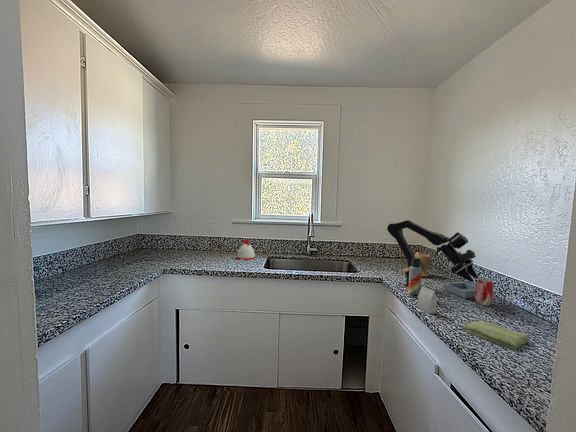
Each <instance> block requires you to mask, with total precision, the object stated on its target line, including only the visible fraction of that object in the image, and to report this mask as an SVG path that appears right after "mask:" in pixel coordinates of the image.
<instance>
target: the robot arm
mask: <svg viewBox="0 0 576 432" xmlns="http://www.w3.org/2000/svg"><path fill="white" fill-rule="evenodd" d="M386 229H387V232H388V233H389V235H390V236H392V237H393V238H394V239H395V240H396V242H397V244H398V246H399V248H400V250H401V251H402V253H403V255H404V257H405V259H406V261H407V268H409V270H408V271H407V272H406V271H405V272H404V274H405V277H406V278H405V279H406V281H405V283H406V284H404V287H407V288H409V271H410V266H412V258H415V254H414V253H413V250H412V249H411V247H410V245H409V244H408V242H407V240H406V238H405V236H404V229H408V230H411V231H413V232H415V233H417V234H418V235H419V236H421V237H424V238H425V239H426V240H427V241H428V242H430V243H431V244H432V245H434V246H437V247H436V253H440V252H441V253H442V254H443V255H444V256H445V257H446V258H447V262H451V264H452V265H453V266H452V267H451V268H450V271H451V273H452V274H455V275H456V276H459V277H461V278H462V279H465V280H466V281H469V282H471V283H473V282H474V279H473V278H475V279H478V278H479V276H478V275H477V273H476V271H475V269H474V263H475V262H474V260H473V259H474V258H476V257H477V256H476V252H475V251H474V250H471V249H467V250H466V251H465V252H464V253H461V252H460V251H459V252H458V251H457V250H459V249H461V248H462V247H464V246H465V245H467V244H468V243H469V239H468V238H467V237H466V236H464V235H463V234H461V233H460V232H458V231H457V232H456V233H455V234H454V235H452V236H451V237H449V236H448V237H447V236H445V235H444V234H442V233H439V232H435V231H432V230H429V229H427V228H425V227H423V226H421V225H419V224H417V223H415V222H413V221H412V220H410V219H408V220H406V219H405V220H403V221H401V222H395V223H389V224H388V225H387V228H386ZM446 243H447V244H446ZM456 249H457V250H456ZM420 267H421V268H422V273H423V272H424V264H423V263H422V261H421V259H420ZM472 277H473V278H472Z"/></svg>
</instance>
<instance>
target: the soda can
mask: <svg viewBox="0 0 576 432" xmlns="http://www.w3.org/2000/svg"><path fill="white" fill-rule="evenodd" d="M477 279H478V280H477V281H476V282H475V284H476V285H475V286H476V293H475V298H474V299H475V300H474V301H475V302H476V303H477V304H478V305H481V306H485V307H486V306H489V307H490V305H492V304H493V299H494V287H495V285H494V282H493V279H490V278H485V277H478V278H477Z"/></svg>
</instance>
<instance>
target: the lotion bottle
mask: <svg viewBox="0 0 576 432" xmlns="http://www.w3.org/2000/svg"><path fill="white" fill-rule="evenodd" d="M421 273H422V268H421V267H420V259H419V258H412V266H410V271H409V287H408V289H407V290H408V291H407V292H408V293H407V296H409V297H410V298H413V299H418V295H419V292H420V290H421V287H422V276H421Z"/></svg>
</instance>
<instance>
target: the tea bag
mask: <svg viewBox="0 0 576 432" xmlns="http://www.w3.org/2000/svg"><path fill="white" fill-rule="evenodd" d="M437 300H438V299H437V296H436V291H435V290H433V289H431V288H427V287H425V286H421V290H420V292H419V295H418V298H417V309H418V310H421V311H423V312H424V313H428V314H429V315H431V314H436V313H437Z"/></svg>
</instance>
